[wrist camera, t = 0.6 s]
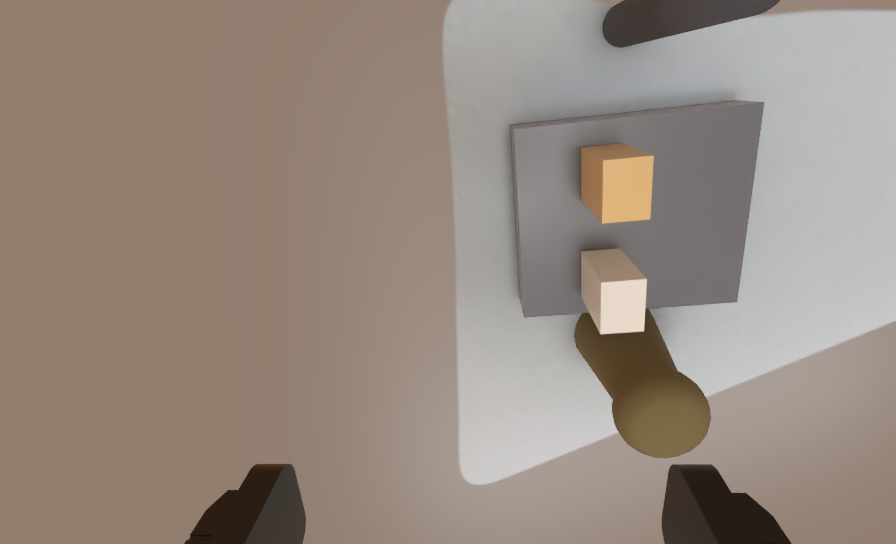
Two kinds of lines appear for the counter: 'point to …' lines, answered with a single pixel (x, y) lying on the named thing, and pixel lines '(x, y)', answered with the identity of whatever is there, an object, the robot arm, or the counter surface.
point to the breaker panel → (672, 204)
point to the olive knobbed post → (645, 389)
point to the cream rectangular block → (613, 291)
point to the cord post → (673, 17)
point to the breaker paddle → (617, 182)
